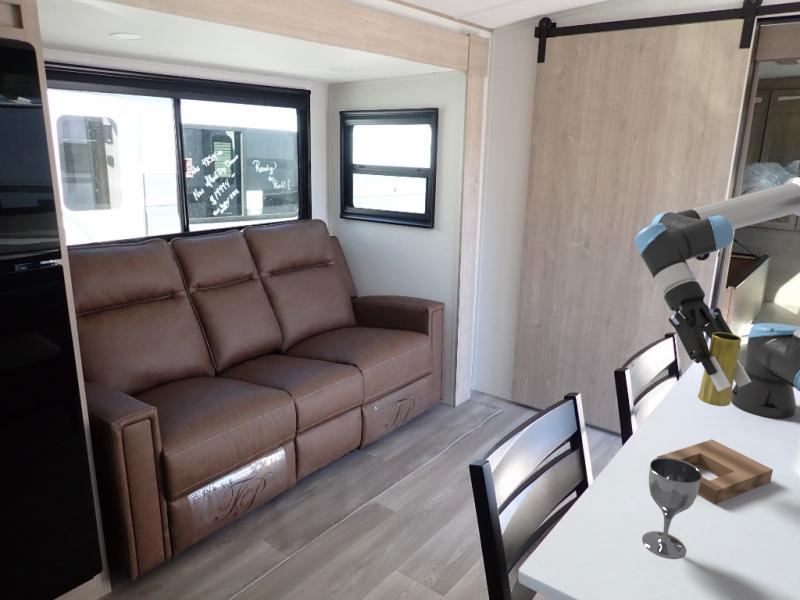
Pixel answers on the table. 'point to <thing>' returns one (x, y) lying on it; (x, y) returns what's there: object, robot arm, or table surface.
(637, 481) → the table surface
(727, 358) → the vase
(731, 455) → the frame
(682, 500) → the wine glass
